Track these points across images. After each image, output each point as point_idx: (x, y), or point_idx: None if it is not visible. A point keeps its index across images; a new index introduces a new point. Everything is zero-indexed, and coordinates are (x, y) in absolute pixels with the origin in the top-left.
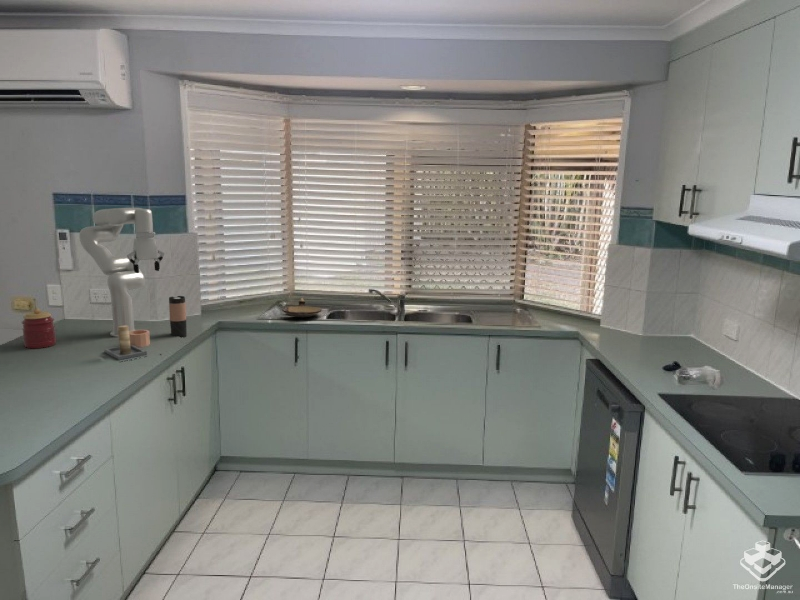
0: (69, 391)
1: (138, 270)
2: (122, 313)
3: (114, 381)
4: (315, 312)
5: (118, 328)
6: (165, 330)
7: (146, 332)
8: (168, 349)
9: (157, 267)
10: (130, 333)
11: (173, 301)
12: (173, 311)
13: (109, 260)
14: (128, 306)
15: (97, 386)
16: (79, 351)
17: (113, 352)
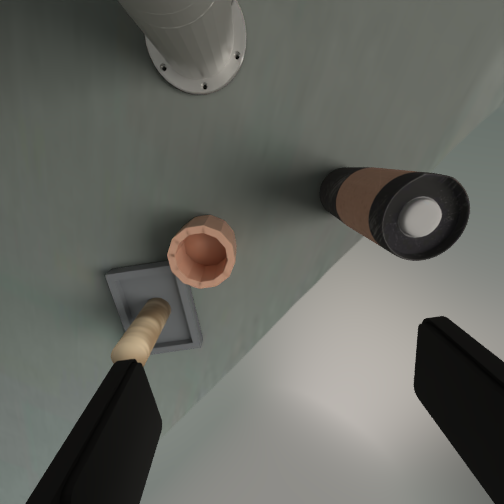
0: (46, 449)
1: (149, 457)
2: (166, 46)
3: None
4: None
5: (113, 359)
6: (341, 76)
7: (222, 274)
8: (264, 307)
9: (448, 436)
10: (174, 261)
11: (382, 245)
12: (357, 229)
13: None
14: (193, 26)
15: None
16: (45, 200)
17: (125, 317)
